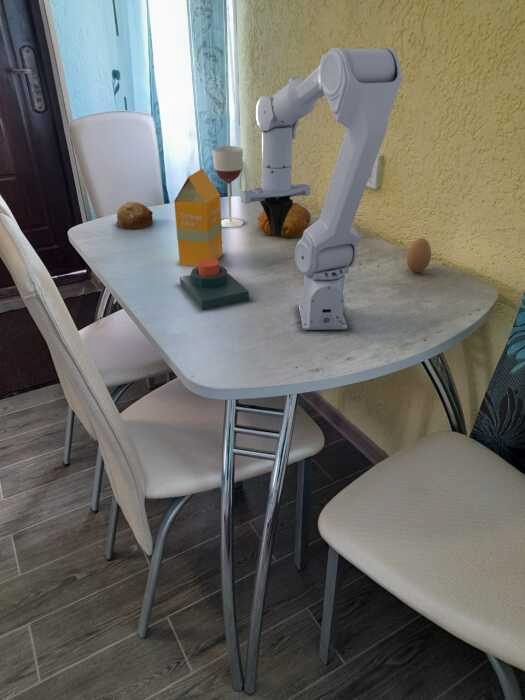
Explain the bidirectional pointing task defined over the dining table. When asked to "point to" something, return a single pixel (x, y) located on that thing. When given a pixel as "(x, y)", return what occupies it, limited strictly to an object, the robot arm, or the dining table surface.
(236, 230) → the dining table surface
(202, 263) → the push button
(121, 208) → the bread roll
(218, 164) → the wineglass
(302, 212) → the golden brown pastry bun
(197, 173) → the orange juice
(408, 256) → the egg
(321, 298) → the robot arm
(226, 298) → the green button base
